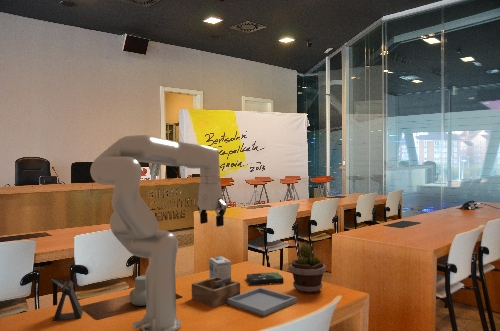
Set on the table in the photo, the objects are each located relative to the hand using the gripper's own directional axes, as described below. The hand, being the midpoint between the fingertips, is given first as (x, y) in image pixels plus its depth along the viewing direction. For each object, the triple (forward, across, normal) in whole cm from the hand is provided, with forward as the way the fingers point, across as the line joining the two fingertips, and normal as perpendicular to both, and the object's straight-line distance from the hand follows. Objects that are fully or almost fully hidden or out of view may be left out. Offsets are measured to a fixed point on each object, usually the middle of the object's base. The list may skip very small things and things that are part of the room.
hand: (211, 224), depth 156 cm
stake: (+30, +3, +1) cm, 30 cm away
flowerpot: (+31, +19, +34) cm, 50 cm away
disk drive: (+31, -3, +31) cm, 44 cm away
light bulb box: (+31, -14, +15) cm, 37 cm away
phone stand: (+28, -24, -46) cm, 60 cm away
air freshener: (+29, -17, -21) cm, 40 cm away
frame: (+30, -1, +1) cm, 30 cm away
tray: (+30, +16, +10) cm, 35 cm away
